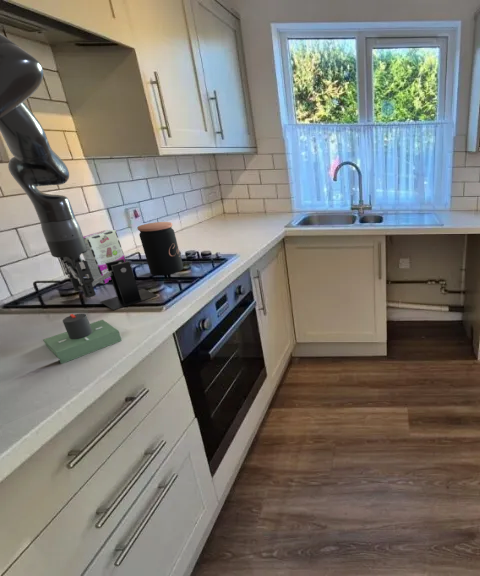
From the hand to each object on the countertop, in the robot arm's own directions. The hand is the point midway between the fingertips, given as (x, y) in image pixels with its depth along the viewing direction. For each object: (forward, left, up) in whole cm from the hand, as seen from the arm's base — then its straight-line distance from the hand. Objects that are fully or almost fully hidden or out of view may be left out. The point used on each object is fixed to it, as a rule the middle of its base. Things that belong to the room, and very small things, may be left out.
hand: (85, 293), depth 101 cm
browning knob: (-7, -19, -3) cm, 21 cm away
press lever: (+6, 0, +2) cm, 6 cm away
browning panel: (-7, -19, -7) cm, 22 cm away
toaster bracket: (+10, 0, -7) cm, 12 cm away
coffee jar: (+29, +17, -7) cm, 34 cm away
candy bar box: (+15, +29, -7) cm, 33 cm away
